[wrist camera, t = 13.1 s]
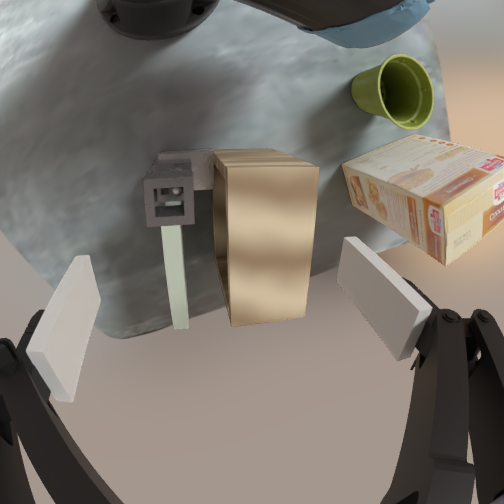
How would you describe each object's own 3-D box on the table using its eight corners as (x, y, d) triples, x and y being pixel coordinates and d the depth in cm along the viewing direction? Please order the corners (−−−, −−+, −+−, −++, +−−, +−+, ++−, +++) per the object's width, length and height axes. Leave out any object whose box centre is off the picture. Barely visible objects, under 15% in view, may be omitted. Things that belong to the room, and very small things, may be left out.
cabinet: (159, 151, 33) (145, 171, 20) (271, 147, 36) (319, 164, 23) (170, 265, 39) (168, 333, 27) (268, 256, 42) (304, 316, 30)
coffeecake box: (351, 207, 42) (444, 270, 25) (339, 162, 38) (442, 205, 21) (422, 173, 42) (516, 213, 25) (414, 132, 38) (517, 158, 21)
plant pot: (394, 69, 34) (435, 66, 26) (392, 128, 38) (432, 135, 30) (341, 54, 32) (378, 44, 24) (338, 119, 36) (376, 123, 28)
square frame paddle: (154, 160, 30) (142, 179, 22) (190, 158, 31) (193, 176, 22) (164, 279, 37) (162, 330, 28) (195, 277, 38) (201, 327, 29)
